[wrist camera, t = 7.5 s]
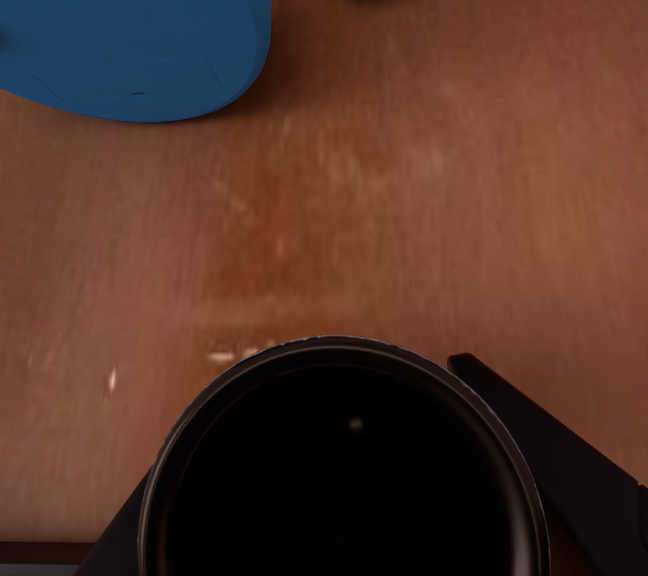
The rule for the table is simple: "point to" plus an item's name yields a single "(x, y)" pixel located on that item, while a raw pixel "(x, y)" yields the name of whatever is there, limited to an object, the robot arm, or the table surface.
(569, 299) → the table surface
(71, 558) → the plant stand
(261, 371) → the planter
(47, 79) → the alarm clock
